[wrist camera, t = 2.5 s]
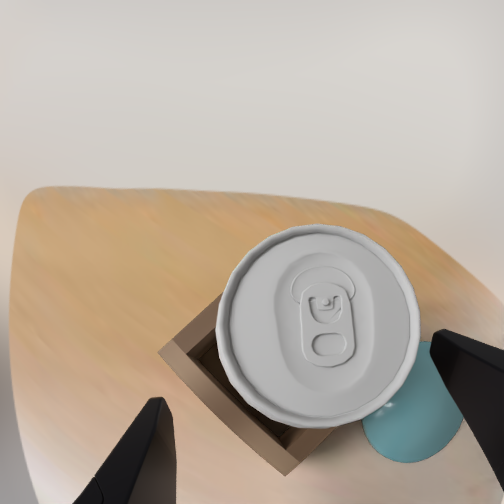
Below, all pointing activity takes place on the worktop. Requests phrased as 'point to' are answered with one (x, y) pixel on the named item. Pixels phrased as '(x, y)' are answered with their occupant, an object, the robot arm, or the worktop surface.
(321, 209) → the worktop surface
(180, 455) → the worktop surface
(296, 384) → the beverage can
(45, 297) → the worktop surface
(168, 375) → the worktop surface
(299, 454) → the square wooden frame
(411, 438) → the teal disc
